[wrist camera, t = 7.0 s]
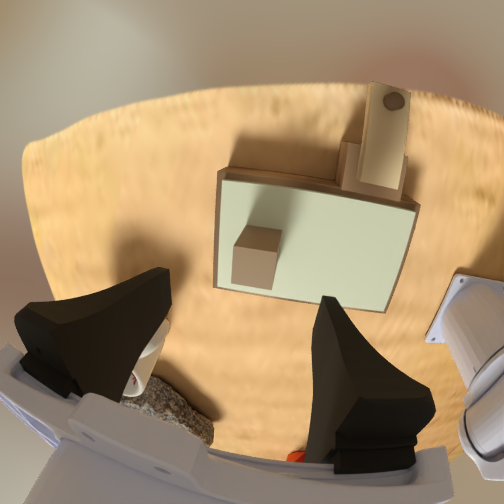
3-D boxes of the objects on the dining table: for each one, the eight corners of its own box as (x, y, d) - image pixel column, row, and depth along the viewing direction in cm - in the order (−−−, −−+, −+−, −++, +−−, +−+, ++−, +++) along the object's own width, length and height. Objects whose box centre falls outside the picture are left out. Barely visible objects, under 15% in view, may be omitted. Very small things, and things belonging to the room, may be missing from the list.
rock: (113, 368, 35) (166, 422, 40) (92, 398, 29) (153, 450, 34) (172, 367, 31) (226, 426, 36) (151, 407, 25) (215, 460, 30)
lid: (413, 210, 16) (438, 231, 12) (382, 307, 19) (394, 342, 16) (224, 179, 18) (203, 191, 14) (219, 283, 21) (202, 314, 17)
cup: (156, 268, 25) (110, 318, 18) (207, 329, 27) (179, 389, 20) (104, 306, 29) (65, 348, 22) (146, 354, 31) (117, 400, 24)
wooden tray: (414, 158, 17) (434, 164, 14) (378, 296, 22) (387, 319, 19) (230, 127, 18) (216, 126, 15) (221, 271, 24) (209, 292, 21)
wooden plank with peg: (403, 94, 12) (417, 90, 10) (391, 186, 15) (403, 193, 13) (367, 84, 13) (377, 78, 11) (356, 178, 15) (363, 184, 13)
